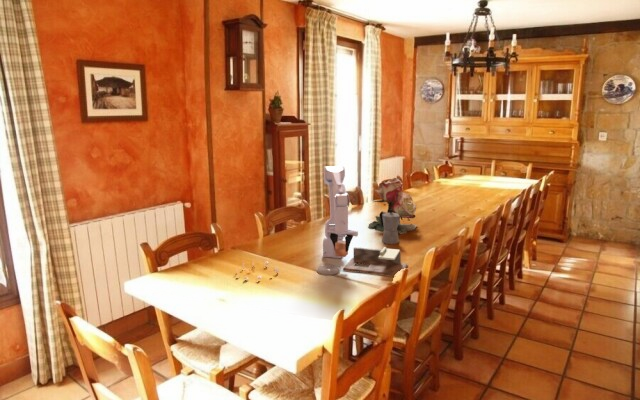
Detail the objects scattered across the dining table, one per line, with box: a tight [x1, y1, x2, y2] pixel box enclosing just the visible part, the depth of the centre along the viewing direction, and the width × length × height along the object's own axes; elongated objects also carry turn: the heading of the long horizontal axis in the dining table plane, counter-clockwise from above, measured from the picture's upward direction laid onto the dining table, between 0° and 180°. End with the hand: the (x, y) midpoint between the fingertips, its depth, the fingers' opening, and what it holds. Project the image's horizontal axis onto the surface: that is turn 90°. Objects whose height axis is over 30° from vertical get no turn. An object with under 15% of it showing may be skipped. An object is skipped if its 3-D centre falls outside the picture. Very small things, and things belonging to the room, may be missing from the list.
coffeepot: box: [379, 209, 401, 245], centre depth 247 cm, size 15×9×18 cm, turn 33°
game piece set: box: [235, 260, 280, 280], centre depth 202 cm, size 19×20×4 cm
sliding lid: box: [378, 246, 401, 260], centre depth 204 cm, size 7×13×2 cm, turn 160°
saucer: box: [316, 264, 341, 276], centre depth 204 cm, size 10×10×1 cm
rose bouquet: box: [367, 177, 418, 235], centre depth 274 cm, size 26×29×30 cm
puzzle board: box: [342, 247, 408, 277], centre depth 207 cm, size 26×15×7 cm, turn 70°
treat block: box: [335, 240, 349, 258], centre depth 204 cm, size 4×4×6 cm
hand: (341, 250), depth 204 cm, fingers closed on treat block, 4 cm apart
